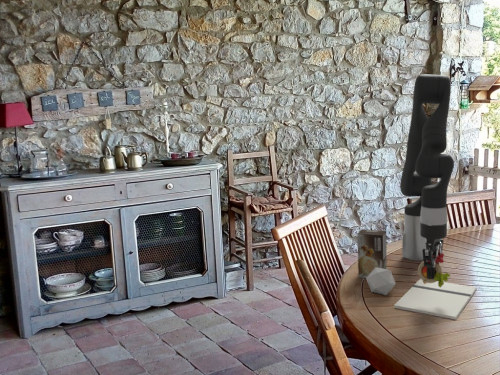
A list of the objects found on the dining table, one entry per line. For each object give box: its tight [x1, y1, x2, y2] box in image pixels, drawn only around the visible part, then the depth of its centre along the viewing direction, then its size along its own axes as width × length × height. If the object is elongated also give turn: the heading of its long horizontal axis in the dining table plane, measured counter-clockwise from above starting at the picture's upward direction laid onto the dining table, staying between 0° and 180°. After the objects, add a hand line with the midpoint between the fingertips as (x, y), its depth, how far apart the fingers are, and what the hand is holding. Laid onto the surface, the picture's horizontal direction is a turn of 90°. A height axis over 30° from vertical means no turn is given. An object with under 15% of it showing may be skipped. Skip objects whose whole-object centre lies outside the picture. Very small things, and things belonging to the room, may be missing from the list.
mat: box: [393, 278, 478, 320], centre depth 173 cm, size 18×26×1 cm
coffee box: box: [357, 228, 388, 279], centre depth 193 cm, size 9×6×16 cm
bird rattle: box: [417, 252, 451, 287], centre depth 167 cm, size 6×11×9 cm
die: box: [365, 267, 396, 296], centre depth 179 cm, size 8×9×10 cm
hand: (432, 275), depth 167 cm, fingers closed on bird rattle, 3 cm apart
